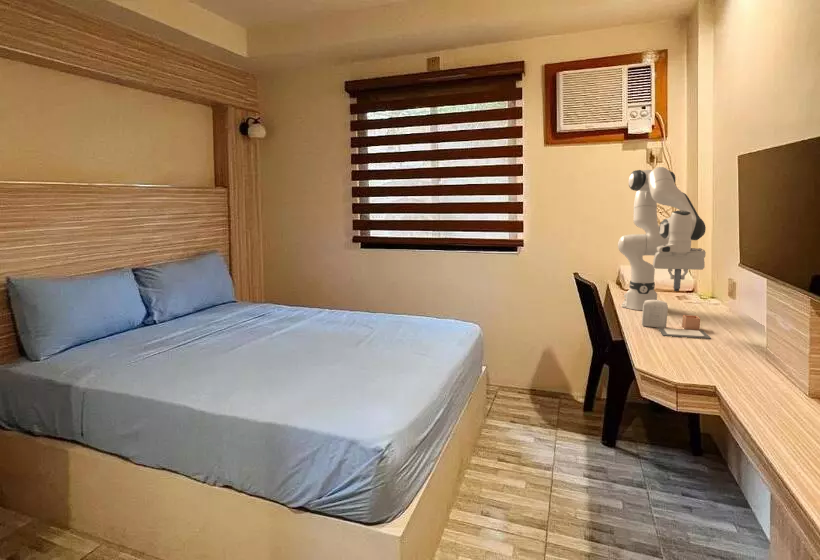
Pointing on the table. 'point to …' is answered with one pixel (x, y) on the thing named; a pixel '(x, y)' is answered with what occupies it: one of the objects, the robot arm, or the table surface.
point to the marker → (677, 279)
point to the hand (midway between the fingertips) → (677, 279)
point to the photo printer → (655, 313)
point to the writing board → (684, 333)
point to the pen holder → (691, 322)
